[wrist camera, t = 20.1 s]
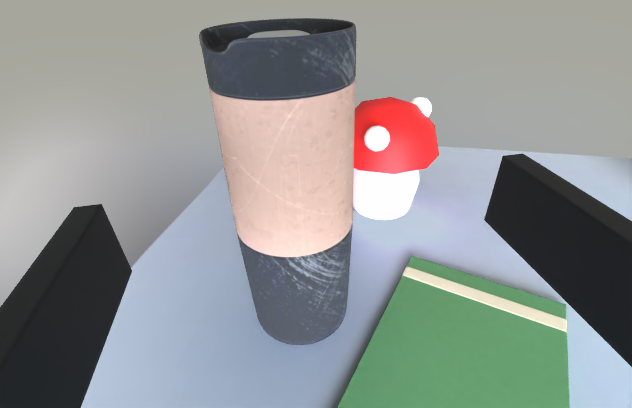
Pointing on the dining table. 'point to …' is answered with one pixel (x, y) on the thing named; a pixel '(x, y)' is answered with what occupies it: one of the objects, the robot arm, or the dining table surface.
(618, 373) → the dining table surface
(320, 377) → the dining table surface
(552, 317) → the cloth
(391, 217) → the mushroom
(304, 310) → the travel mug
